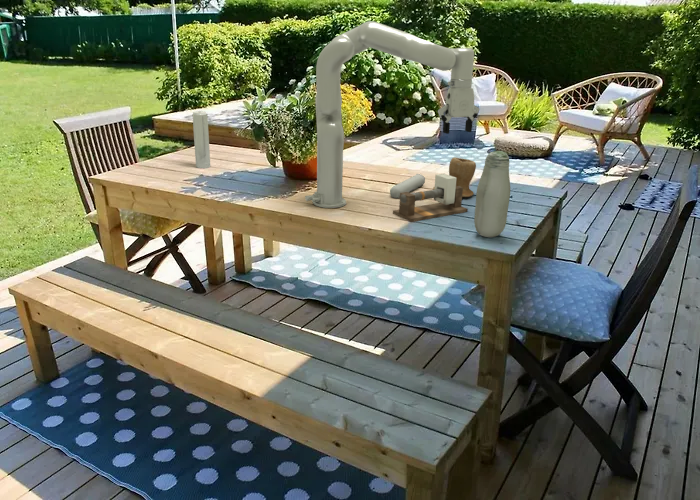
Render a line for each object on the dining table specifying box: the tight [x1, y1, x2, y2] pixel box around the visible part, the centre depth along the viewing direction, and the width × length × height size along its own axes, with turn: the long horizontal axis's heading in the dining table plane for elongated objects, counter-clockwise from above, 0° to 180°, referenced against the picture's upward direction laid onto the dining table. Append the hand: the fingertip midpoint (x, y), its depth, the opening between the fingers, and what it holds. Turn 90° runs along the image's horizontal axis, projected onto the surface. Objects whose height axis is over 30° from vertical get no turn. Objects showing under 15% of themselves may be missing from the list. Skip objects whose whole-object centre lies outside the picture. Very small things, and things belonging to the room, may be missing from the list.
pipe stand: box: [392, 186, 468, 223], centre depth 221 cm, size 26×11×9 cm, turn 122°
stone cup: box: [432, 156, 477, 198], centre depth 245 cm, size 15×12×15 cm
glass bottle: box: [473, 150, 511, 238], centre depth 195 cm, size 10×10×28 cm
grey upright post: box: [192, 110, 211, 169], centre depth 276 cm, size 6×6×25 cm
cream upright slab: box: [433, 173, 456, 204], centre depth 223 cm, size 4×7×10 cm, turn 32°
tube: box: [389, 173, 426, 199], centre depth 249 cm, size 5×5×25 cm
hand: (457, 132), depth 224 cm, fingers open, 9 cm apart
